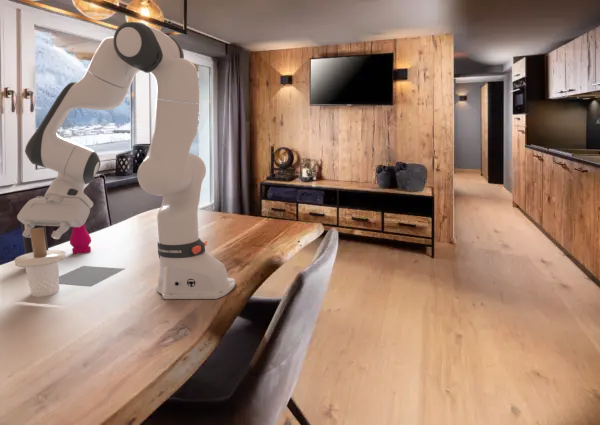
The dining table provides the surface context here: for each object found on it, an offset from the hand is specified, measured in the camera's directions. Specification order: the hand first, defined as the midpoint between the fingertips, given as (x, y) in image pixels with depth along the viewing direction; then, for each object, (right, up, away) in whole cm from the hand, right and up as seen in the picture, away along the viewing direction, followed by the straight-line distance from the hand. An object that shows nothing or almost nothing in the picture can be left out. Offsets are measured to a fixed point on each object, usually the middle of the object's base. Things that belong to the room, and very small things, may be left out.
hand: (40, 237), depth 113 cm
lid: (0, -6, 0) cm, 6 cm away
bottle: (-19, -11, +29) cm, 36 cm away
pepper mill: (-11, -8, +43) cm, 45 cm away
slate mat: (+5, -14, +15) cm, 21 cm away
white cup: (0, -16, +2) cm, 17 cm away
